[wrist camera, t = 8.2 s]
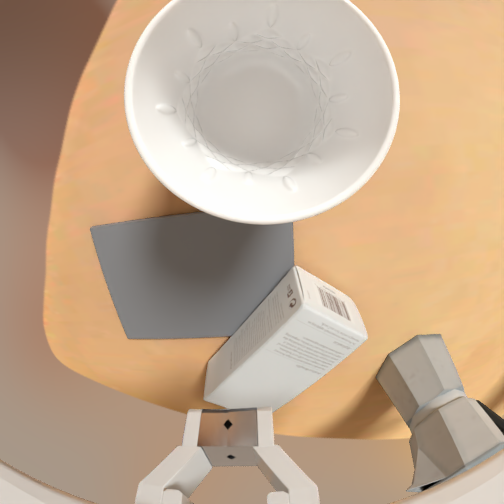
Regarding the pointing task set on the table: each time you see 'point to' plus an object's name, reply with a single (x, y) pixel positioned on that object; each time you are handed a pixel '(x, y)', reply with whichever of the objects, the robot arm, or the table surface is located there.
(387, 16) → the table surface
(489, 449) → the coffee maker
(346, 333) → the skincare box
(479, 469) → the robot arm
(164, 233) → the mat
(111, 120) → the table surface
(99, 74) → the table surface
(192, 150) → the white cup
